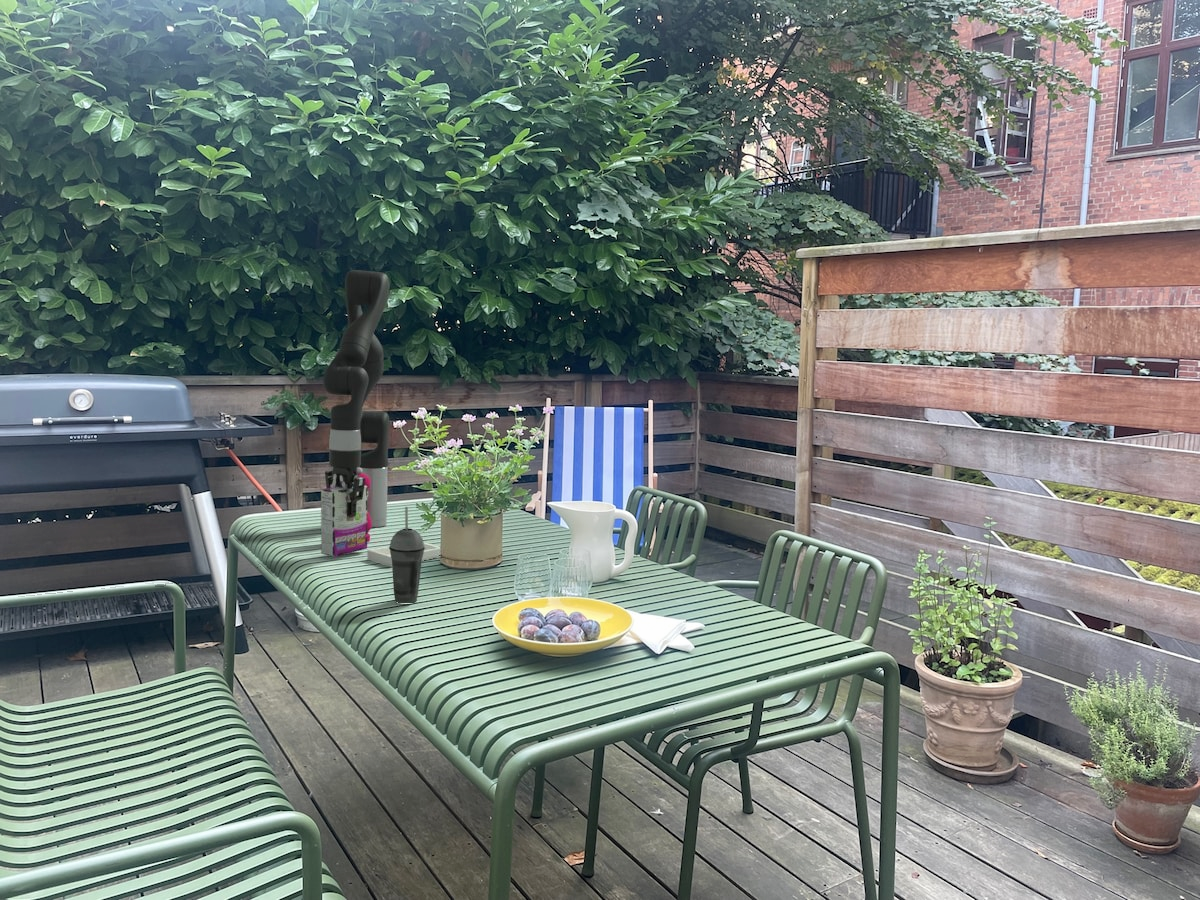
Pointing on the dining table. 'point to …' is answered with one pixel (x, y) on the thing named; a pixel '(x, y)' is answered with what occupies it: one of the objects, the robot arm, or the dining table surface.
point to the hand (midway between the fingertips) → (344, 514)
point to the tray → (385, 558)
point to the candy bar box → (342, 523)
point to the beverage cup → (406, 563)
